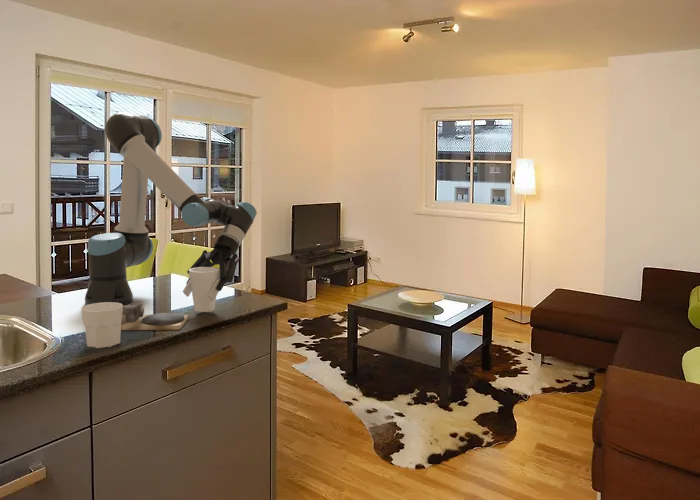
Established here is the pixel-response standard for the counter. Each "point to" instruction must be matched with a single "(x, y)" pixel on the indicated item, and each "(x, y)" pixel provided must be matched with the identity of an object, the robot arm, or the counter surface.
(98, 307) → the cup
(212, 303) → the foam cup
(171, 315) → the shaft stand
